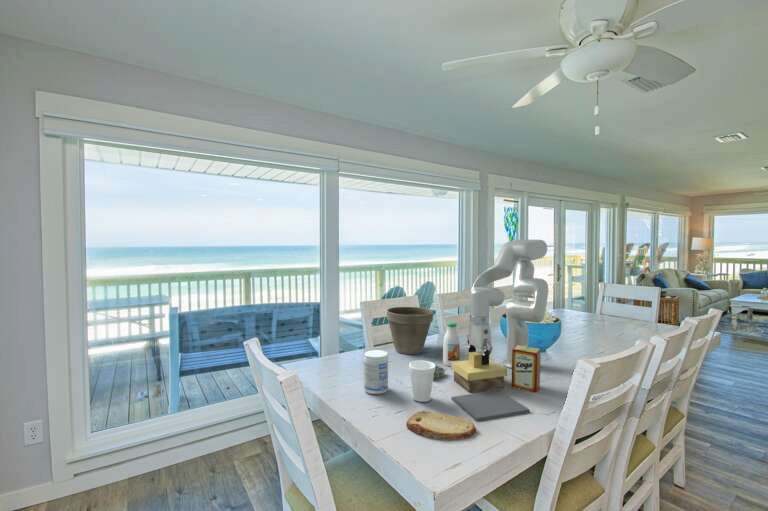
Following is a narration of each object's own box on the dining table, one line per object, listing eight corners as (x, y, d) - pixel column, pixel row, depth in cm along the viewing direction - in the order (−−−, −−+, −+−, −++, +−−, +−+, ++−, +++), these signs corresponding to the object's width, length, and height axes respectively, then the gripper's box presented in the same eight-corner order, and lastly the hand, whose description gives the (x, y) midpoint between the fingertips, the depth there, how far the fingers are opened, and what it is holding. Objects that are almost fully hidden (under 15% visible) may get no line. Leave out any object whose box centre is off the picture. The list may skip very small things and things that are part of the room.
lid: (487, 364, 159) (487, 346, 159) (506, 375, 146) (507, 356, 146) (451, 368, 153) (451, 350, 153) (468, 380, 141) (468, 360, 140)
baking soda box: (539, 386, 148) (540, 348, 147) (536, 392, 142) (537, 352, 142) (515, 381, 153) (516, 344, 152) (511, 386, 148) (512, 348, 147)
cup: (428, 407, 129) (428, 371, 128) (403, 401, 134) (404, 366, 133) (439, 397, 137) (440, 363, 137) (416, 391, 143) (416, 358, 142)
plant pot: (434, 345, 204) (435, 307, 204) (430, 359, 180) (430, 316, 180) (391, 342, 210) (391, 305, 209) (381, 355, 186) (381, 313, 185)
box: (486, 376, 158) (486, 361, 158) (503, 387, 147) (504, 370, 146) (453, 381, 153) (454, 364, 153) (468, 392, 142) (469, 374, 141)
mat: (499, 392, 142) (499, 389, 142) (529, 412, 126) (529, 409, 126) (451, 399, 136) (451, 396, 135) (476, 421, 119) (476, 418, 119)
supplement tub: (383, 396, 138) (383, 358, 137) (360, 393, 140) (360, 355, 140) (390, 386, 147) (391, 351, 146) (368, 383, 150) (369, 348, 149)
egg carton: (430, 382, 153) (430, 372, 153) (417, 376, 159) (417, 367, 158) (447, 376, 159) (447, 366, 159) (434, 371, 165) (434, 362, 165)
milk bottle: (441, 365, 172) (441, 323, 171) (444, 360, 179) (445, 320, 178) (457, 367, 169) (458, 325, 168) (460, 362, 176) (461, 321, 175)
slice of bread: (481, 433, 113) (482, 421, 113) (438, 451, 103) (439, 439, 103) (441, 410, 128) (441, 399, 128) (400, 424, 118) (400, 413, 117)
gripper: (500, 323, 142) (499, 366, 142) (475, 314, 158) (474, 353, 159) (483, 324, 139) (482, 368, 140) (460, 315, 156) (459, 355, 156)
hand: (478, 360), depth 149 cm, fingers open, 9 cm apart
